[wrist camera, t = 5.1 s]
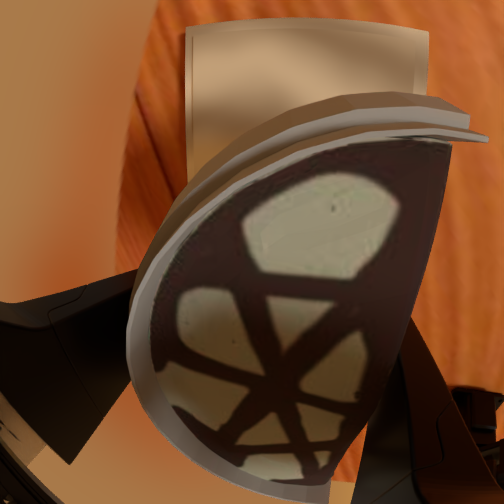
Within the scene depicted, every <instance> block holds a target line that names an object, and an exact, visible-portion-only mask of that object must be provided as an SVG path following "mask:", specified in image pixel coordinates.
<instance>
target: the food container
mask: <svg viewBox="0 0 504 504" xmlns="http://www.w3.org/2000/svg"><path fill="white" fill-rule="evenodd" d="M469 123H470V115H469V114H467V113H466V112H464V111H462V110H460V109H459V108H457V107H455V106H453V105H452V104H450V103H448V102H446V101H444V100H443V99H441V98H438V97H432V96H426V95H419V94H412V93H404V92H395V91H389V92H371V93H358V94H347V95H339V96H335V97H332V98H328V99H324V100H321V101H317V102H314V103H310V104H307V105H304V106H300V107H297V108H294V109H291V110H288V111H286V112H284V113H282V114H280V115H278V116H276V117H274V118H272V119H270V120H268V121H266V122H264V123H262V124H261V125H259V126H257V127H255V128H253V129H251V130H249V131H247V132H246V133H244V134H242V135H241V136H240V137H238V138H237V139H236V140H234V141H233V142H232V143H231V144H229V145H228V146H227V147H226V148H224V149H223V150H222V151H221V152H219V153H218V154H217V155H216V156H214V157H213V158H212V159H211V160H209V161H208V162H207V163H206V164H205V165H204V166H203V167H202V168H201V169H200V170H199V171H198V173H197V174H196V175H195V176H194V177H193V178H192V180H191V181H190V182H189V183H188V184H187V186H186V187H185V188H184V189H183V190H182V192H181V193H180V194H179V195H178V196H177V198H176V199H175V201H174V203H173V204H172V206H171V208H170V210H169V211H168V213H167V215H166V217H165V219H164V220H163V222H162V224H161V226H160V228H159V230H158V231H157V233H156V235H155V237H154V239H153V241H152V243H151V245H150V246H149V248H148V250H147V252H146V254H145V256H144V258H143V260H142V262H141V264H140V266H139V268H138V271H137V275H136V279H135V283H134V286H133V290H132V294H131V298H130V302H129V320H128V324H127V328H126V359H127V364H128V368H129V373H130V377H131V381H132V385H133V387H134V389H135V392H136V394H137V396H138V398H139V401H140V403H141V405H142V407H143V409H144V410H145V412H146V413H147V415H148V417H149V418H150V419H151V421H152V422H153V424H154V425H155V427H156V428H157V429H158V430H159V431H160V432H161V434H162V435H163V436H164V437H165V438H166V439H167V440H168V441H169V442H170V443H171V444H172V445H173V446H174V447H175V448H176V449H177V450H179V451H180V452H181V453H183V454H184V455H185V456H186V457H187V458H189V459H190V460H191V461H192V462H194V463H196V464H197V465H199V466H200V467H202V468H203V469H205V470H207V471H208V472H210V473H211V474H213V475H215V476H217V477H219V478H221V479H223V480H225V481H228V482H229V483H232V484H234V485H236V486H239V487H241V488H244V489H247V490H250V491H252V492H255V493H258V494H262V495H266V496H269V497H273V498H277V499H282V500H287V501H293V502H300V503H307V504H328V503H329V494H330V493H329V492H330V484H331V477H332V476H333V475H334V471H335V469H336V467H337V465H338V463H339V462H340V460H341V459H342V457H343V456H344V454H345V452H346V451H347V449H348V448H349V446H350V445H351V443H352V442H353V441H354V439H355V438H356V437H357V435H358V434H359V433H360V432H361V430H362V429H363V428H364V426H365V425H366V423H367V422H368V420H369V419H370V417H371V416H372V414H373V413H374V412H375V410H376V408H377V406H378V404H379V402H380V400H381V397H382V395H383V393H384V390H385V388H386V385H387V383H388V381H389V378H390V375H391V372H392V370H393V367H394V364H395V361H396V358H397V355H398V352H399V349H400V347H401V344H402V341H403V338H404V335H405V332H406V329H407V326H408V323H409V320H410V317H411V314H412V311H413V307H414V304H415V301H416V298H417V295H418V291H419V288H420V285H421V282H422V279H423V276H424V272H425V269H426V266H427V262H428V259H429V255H430V252H431V248H432V244H433V240H434V236H435V232H436V228H437V224H438V220H439V216H440V211H441V207H442V202H443V197H444V192H445V187H446V182H447V176H448V171H449V165H450V158H451V152H452V144H451V143H449V142H448V141H464V142H482V143H488V140H489V137H488V136H485V135H483V134H480V133H477V132H474V131H471V130H468V128H469Z"/></svg>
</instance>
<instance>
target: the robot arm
mask: <svg viewBox="0 0 504 504" xmlns="http://www.w3.org/2000/svg"><path fill="white" fill-rule="evenodd" d="M137 271H138V269H135V270H132V271H129V272H125V273H122V274H119V275H116V276H112V277H109V278H106V279H103V280H100V281H96V282H93V283H90V284H88V285H84V286H80V287H77V288H74V289H70V290H67V291H63V292H60V293H56V294H52V295H48V296H44V297H40V298H36V299H32V300H28V301H24V302H20V303H4V302H0V504H64V503H63V502H62V501H61V500H60V499H59V498H58V497H57V496H55V495H54V494H53V493H52V492H51V491H50V490H49V489H48V488H47V487H46V486H45V485H44V484H43V483H42V482H41V481H40V480H39V479H38V478H37V477H36V476H35V475H34V474H33V473H32V472H31V471H30V470H29V469H28V468H27V466H28V465H29V464H30V462H31V461H32V460H33V459H34V458H35V457H36V456H37V455H38V454H39V453H40V451H41V450H42V449H43V448H44V447H45V446H46V445H47V446H48V447H50V449H52V450H53V451H54V452H55V453H56V454H57V455H58V456H59V457H60V458H62V459H63V460H64V461H65V462H66V463H67V464H68V465H70V464H71V463H72V462H73V461H74V459H75V458H76V457H77V455H78V453H79V452H80V451H81V449H82V448H83V446H84V445H85V444H86V442H87V441H88V440H89V438H90V437H91V435H92V434H93V433H94V431H95V430H96V428H97V427H98V426H99V424H100V423H101V421H102V420H103V419H104V418H103V417H105V416H106V414H107V413H108V411H109V410H110V409H111V407H112V406H113V405H114V403H115V402H116V400H117V399H118V398H119V396H120V395H121V394H122V392H123V391H124V389H125V388H126V387H127V385H128V384H129V382H130V381H131V377H130V373H129V368H128V364H127V359H126V328H127V324H128V320H129V302H130V298H131V294H132V290H133V286H134V283H135V279H136V275H137ZM503 402H504V395H501V394H494V393H487V392H481V391H475V390H469V389H463V388H455V389H453V390H452V392H451V393H450V391H449V389H448V387H447V384H446V382H445V380H444V378H443V376H442V374H441V372H440V370H439V368H438V366H437V364H436V362H435V360H434V358H433V357H432V355H431V353H430V351H429V349H428V347H427V345H426V343H425V341H424V340H423V338H422V336H421V334H420V332H419V330H418V329H417V327H416V325H415V323H414V321H413V320H412V318H411V317H410V320H409V323H408V326H407V329H406V332H405V335H404V338H403V341H402V344H401V347H400V349H399V352H398V355H397V358H396V361H395V364H394V367H393V370H392V372H391V375H390V378H389V381H388V383H387V385H386V388H385V390H384V393H383V395H382V397H381V400H380V402H379V404H378V406H377V408H376V410H375V412H374V413H373V414H372V416H371V417H370V419H369V420H368V425H367V431H366V436H365V442H364V447H363V452H362V457H361V462H360V467H359V471H358V475H357V480H356V484H355V488H354V492H353V496H352V500H351V504H504V439H501V440H500V441H497V442H496V428H497V422H496V410H497V409H498V408H499V407H500V405H501V404H502V403H503Z"/></svg>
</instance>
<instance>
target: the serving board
mask: <svg viewBox="0 0 504 504" xmlns="http://www.w3.org/2000/svg"><path fill="white" fill-rule="evenodd" d="M428 55H429V32H427V31H423V30H418V29H413V28H407V27H401V26H395V25H389V24H382V23H374V22H366V21H356V20H344V19H328V18H265V19H249V20H237V21H227V22H218V23H210V24H203V25H197V26H190V27H186V42H185V117H186V153H187V178H188V183H189V182H190V181H191V180H192V178H193V177H194V176H195V175H196V174H197V173H198V171H199V170H200V169H201V168H202V167H203V166H204V165H205V164H206V163H207V162H208V161H209V160H211V159H212V158H213V157H214V156H216V155H217V154H218V153H219V152H221V151H222V150H223V149H224V148H226V147H227V146H228V145H229V144H231V143H232V142H233V141H234V140H236V139H237V138H238V137H240V136H241V135H242V134H244V133H246V132H247V131H249V130H251V129H253V128H255V127H257V126H259V125H261V124H262V123H264V122H266V121H268V120H270V119H272V118H274V117H276V116H278V115H280V114H282V113H284V112H286V111H288V110H291V109H294V108H297V107H300V106H304V105H307V104H310V103H314V102H317V101H321V100H324V99H328V98H332V97H335V96H339V95H347V94H358V93H371V92H389V91H395V92H404V93H412V94H419V95H426V91H427V76H428Z"/></svg>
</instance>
